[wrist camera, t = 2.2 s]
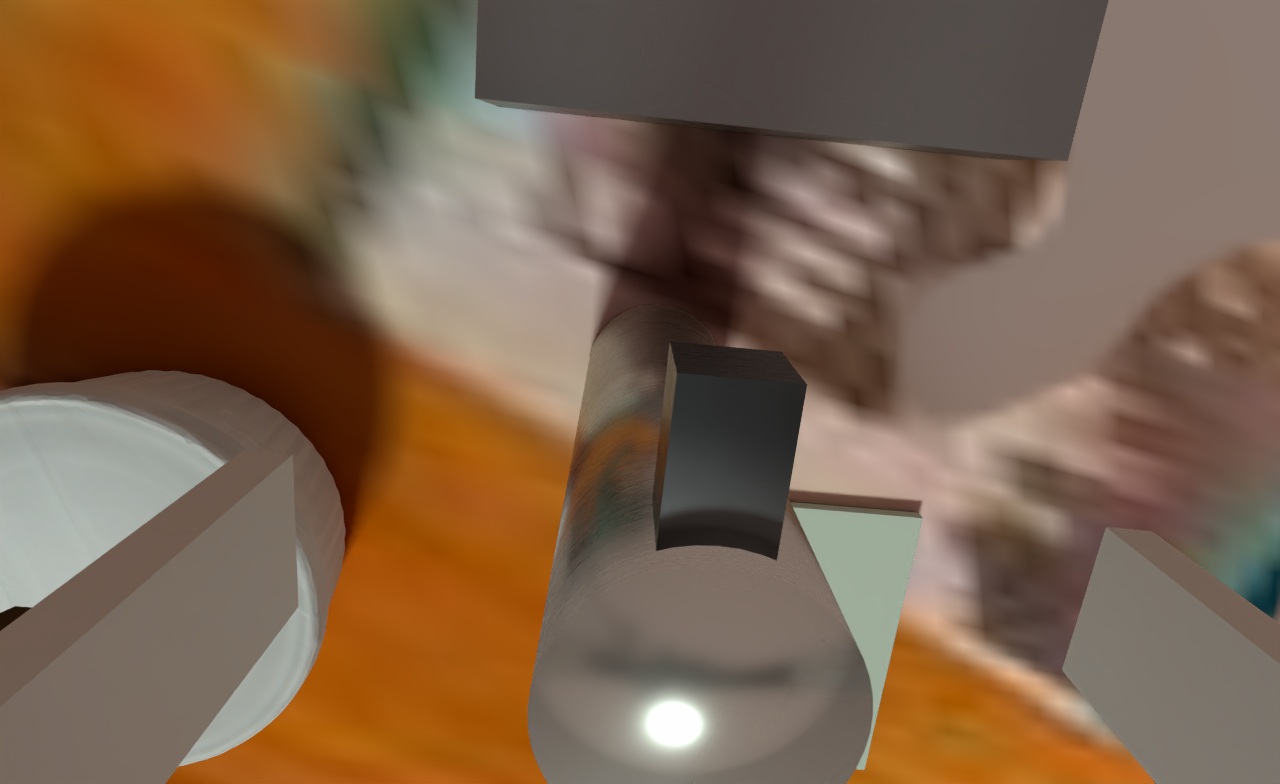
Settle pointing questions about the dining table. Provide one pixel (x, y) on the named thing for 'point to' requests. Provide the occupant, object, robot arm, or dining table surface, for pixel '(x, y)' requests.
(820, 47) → the plate
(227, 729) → the ramekin
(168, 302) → the dining table surface
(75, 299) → the dining table surface
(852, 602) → the rubber mat
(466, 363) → the dining table surface
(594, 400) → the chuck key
